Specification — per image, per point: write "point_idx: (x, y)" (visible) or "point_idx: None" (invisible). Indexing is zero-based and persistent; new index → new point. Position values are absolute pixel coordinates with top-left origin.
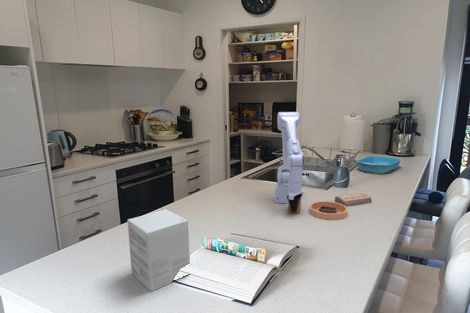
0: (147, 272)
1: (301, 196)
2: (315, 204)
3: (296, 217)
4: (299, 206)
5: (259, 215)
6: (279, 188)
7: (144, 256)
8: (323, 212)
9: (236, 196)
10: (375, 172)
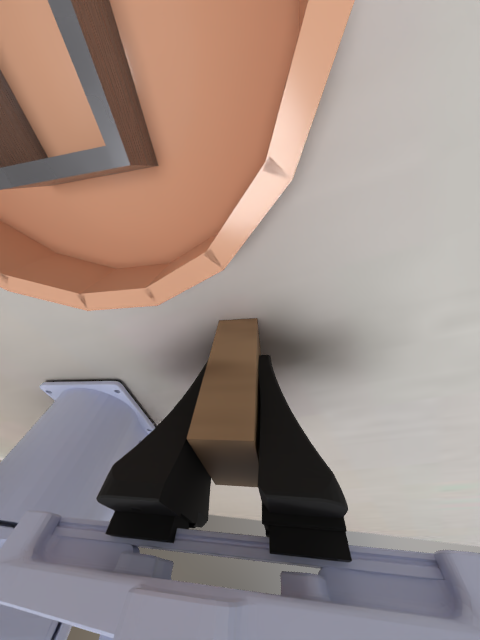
0: None
1: (136, 452)
2: (26, 267)
3: (302, 323)
4: (256, 373)
5: (332, 440)
6: (102, 509)
7: None
8: (122, 77)
9: None
10: None
